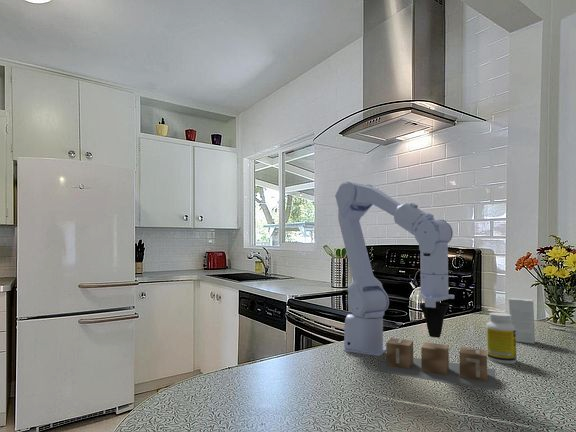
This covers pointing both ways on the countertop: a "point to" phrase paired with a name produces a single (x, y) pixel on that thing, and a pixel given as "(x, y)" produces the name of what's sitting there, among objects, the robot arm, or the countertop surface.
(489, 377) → the mat
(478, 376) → the digit block 7
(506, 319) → the pill bottle
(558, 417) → the countertop surface
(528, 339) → the skincare box
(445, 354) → the plain block
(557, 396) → the countertop surface
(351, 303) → the robot arm
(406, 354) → the digit block 1
